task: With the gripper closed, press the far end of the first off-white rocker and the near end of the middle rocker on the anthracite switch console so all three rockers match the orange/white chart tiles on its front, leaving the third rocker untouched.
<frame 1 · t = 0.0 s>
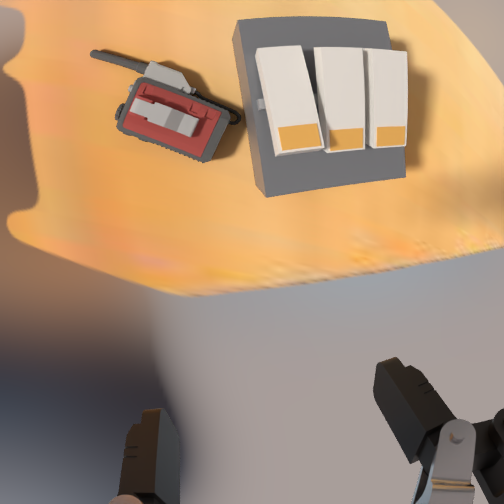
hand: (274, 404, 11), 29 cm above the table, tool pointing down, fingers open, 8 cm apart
rocker 2: (341, 98, 26), point 9 cm above the table, hinge at 13.0°
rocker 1: (288, 98, 25), point 9 cm above the table, hinge at -13.0°
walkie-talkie: (154, 103, 32), on the table
rocker 3: (386, 97, 26), point 9 cm above the table, hinge at 13.0°
console: (310, 102, 34), on the table
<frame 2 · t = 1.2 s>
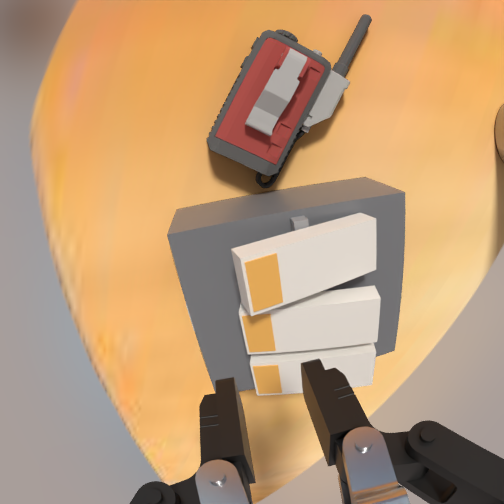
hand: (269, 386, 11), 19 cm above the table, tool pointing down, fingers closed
rocker 2: (311, 322, 23), point 9 cm above the table, hinge at 13.0°
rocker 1: (311, 260, 21), point 9 cm above the table, hinge at -13.0°
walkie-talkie: (289, 79, 25), on the table
rocker 3: (313, 369, 25), point 9 cm above the table, hinge at 13.0°
console: (286, 270, 31), on the table
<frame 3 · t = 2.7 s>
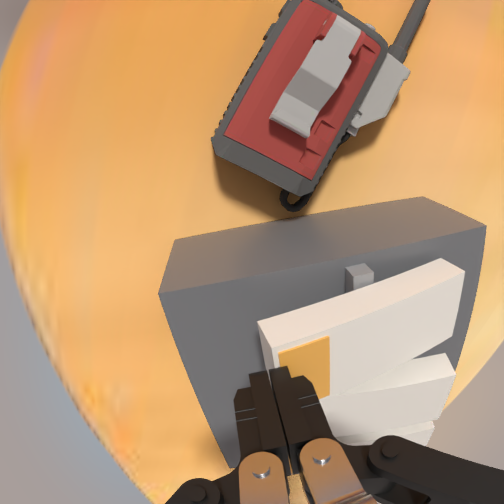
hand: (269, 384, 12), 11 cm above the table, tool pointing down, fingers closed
rocker 2: (361, 403, 15), point 9 cm above the table, hinge at 13.0°
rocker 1: (374, 333, 13), point 9 cm above the table, hinge at -8.8°, touching gripper
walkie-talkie: (329, 61, 17), on the table
rocker 3: (354, 446, 17), point 9 cm above the table, hinge at 13.0°
console: (319, 315, 24), on the table
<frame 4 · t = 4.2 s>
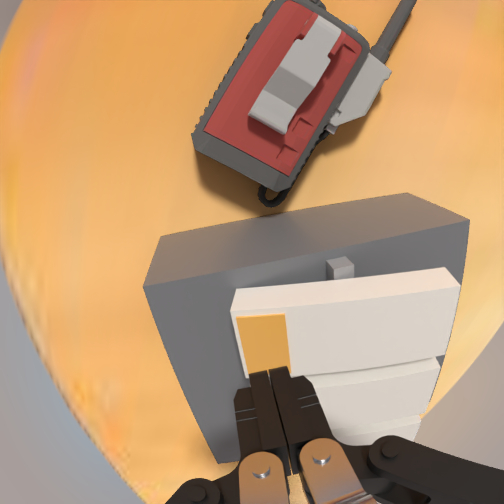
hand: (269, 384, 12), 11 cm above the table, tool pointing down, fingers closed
rocker 2: (345, 396, 16), point 9 cm above the table, hinge at 13.0°
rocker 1: (349, 327, 14), point 9 cm above the table, hinge at 14.0°, touching console
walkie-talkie: (311, 61, 18), on the table
rocker 3: (341, 441, 18), point 9 cm above the table, hinge at 13.0°
console: (304, 311, 24), on the table
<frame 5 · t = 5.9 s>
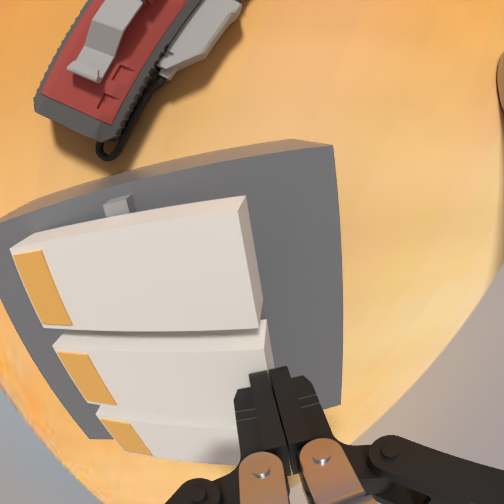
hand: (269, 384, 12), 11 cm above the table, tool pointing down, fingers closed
rocker 2: (159, 372, 13), point 9 cm above the table, hinge at 13.0°, touching gripper
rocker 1: (120, 274, 11), point 9 cm above the table, hinge at 13.8°
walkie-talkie: (164, 15, 15), on the table
rocker 3: (190, 433, 15), point 9 cm above the table, hinge at 13.0°
console: (177, 280, 21), on the table
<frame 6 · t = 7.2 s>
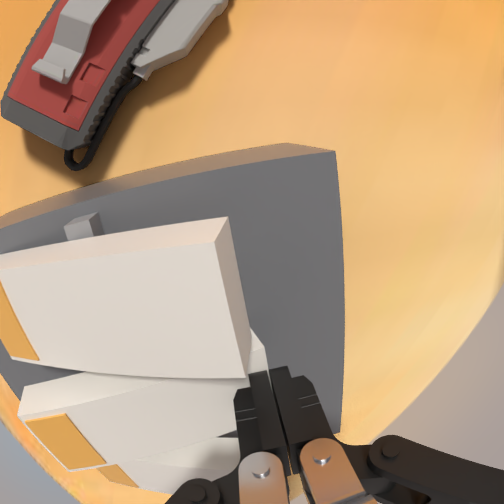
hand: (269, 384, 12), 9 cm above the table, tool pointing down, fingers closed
rocker 2: (147, 410, 11), point 9 cm above the table, hinge at -13.6°, touching gripper
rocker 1: (84, 308, 9), point 9 cm above the table, hinge at 13.8°
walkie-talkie: (144, 8, 13), on the table
rocker 3: (177, 468, 13), point 9 cm above the table, hinge at 13.0°
console: (162, 299, 19), on the table
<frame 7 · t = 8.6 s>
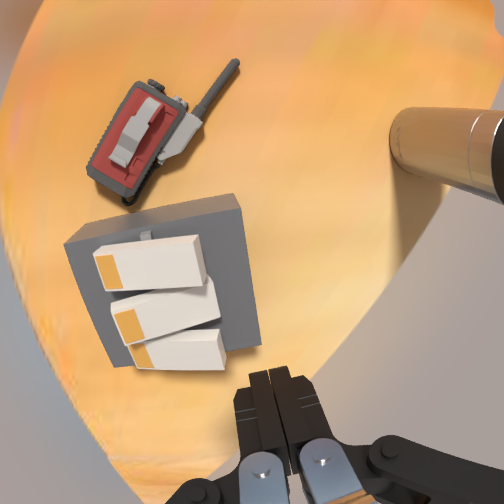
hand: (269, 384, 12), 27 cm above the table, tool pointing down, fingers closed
rocker 2: (165, 311, 29), point 9 cm above the table, hinge at -13.8°
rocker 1: (147, 265, 27), point 9 cm above the table, hinge at 13.8°
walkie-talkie: (160, 118, 32), on the table
rocker 3: (175, 351, 31), point 9 cm above the table, hinge at 13.0°
console: (170, 271, 38), on the table
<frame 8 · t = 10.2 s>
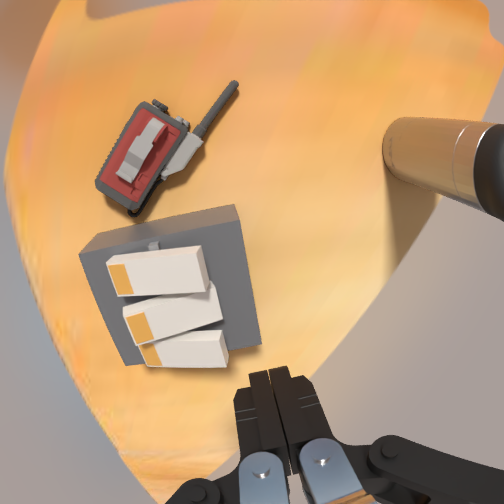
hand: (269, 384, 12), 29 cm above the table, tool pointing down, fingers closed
rocker 2: (172, 313, 32), point 9 cm above the table, hinge at -13.8°
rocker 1: (155, 272, 30), point 9 cm above the table, hinge at 13.8°
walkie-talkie: (164, 136, 35), on the table
rocker 3: (182, 350, 34), point 9 cm above the table, hinge at 13.0°
console: (177, 276, 41), on the table
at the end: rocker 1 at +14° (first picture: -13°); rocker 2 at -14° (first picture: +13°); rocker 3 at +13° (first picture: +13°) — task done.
